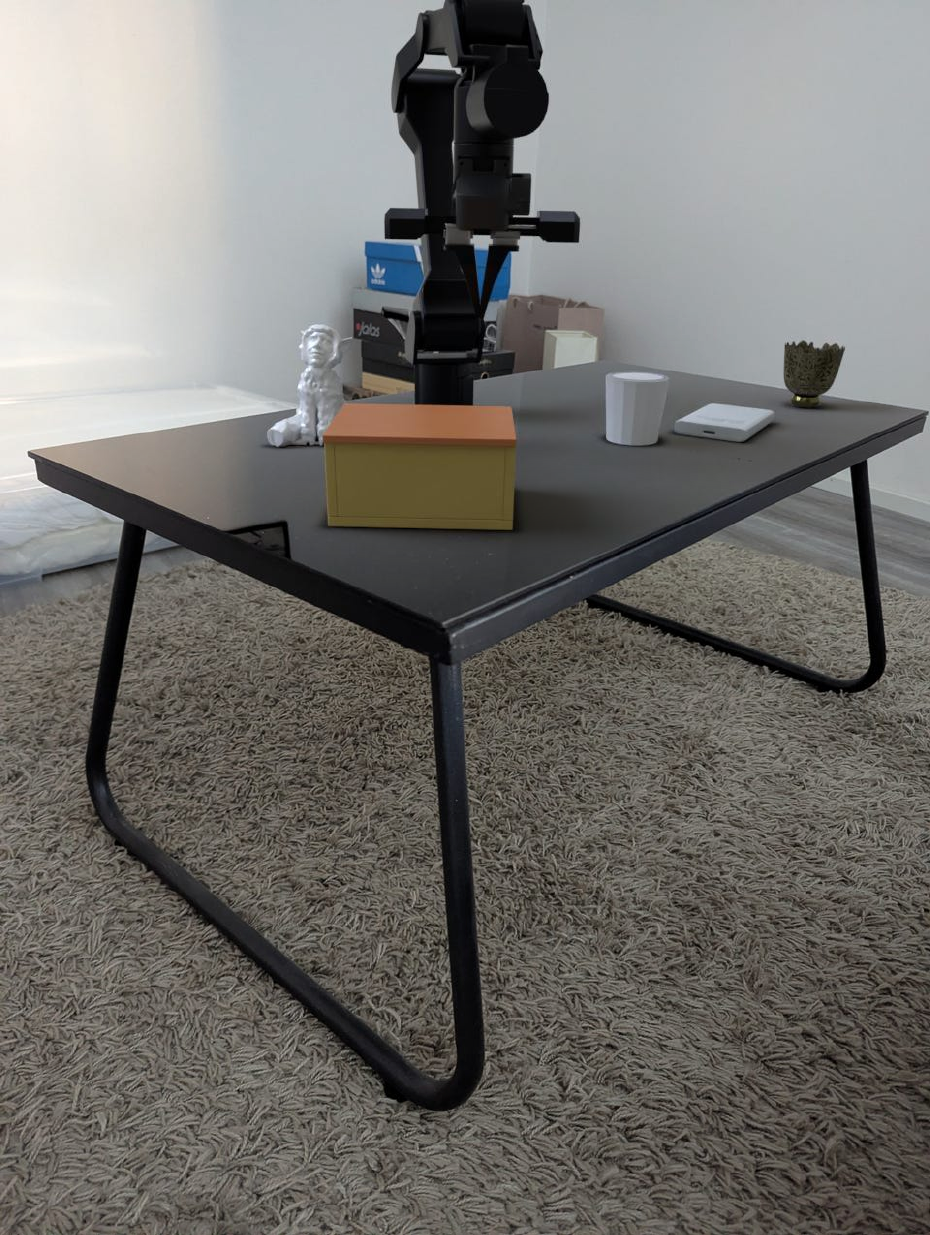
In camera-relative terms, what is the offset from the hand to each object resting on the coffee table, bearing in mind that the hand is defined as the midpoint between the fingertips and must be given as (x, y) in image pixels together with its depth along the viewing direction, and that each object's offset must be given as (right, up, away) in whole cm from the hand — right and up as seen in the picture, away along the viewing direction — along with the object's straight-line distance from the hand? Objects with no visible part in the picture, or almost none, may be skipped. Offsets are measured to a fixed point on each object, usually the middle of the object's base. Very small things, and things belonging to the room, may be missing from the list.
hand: (479, 318), depth 91 cm
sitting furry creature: (-17, -11, +6) cm, 22 cm away
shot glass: (+17, -11, +9) cm, 22 cm away
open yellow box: (-5, -21, -15) cm, 26 cm away
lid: (-5, -15, -18) cm, 24 cm away
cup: (+44, -2, +28) cm, 52 cm away
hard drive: (+29, -8, +15) cm, 34 cm away
